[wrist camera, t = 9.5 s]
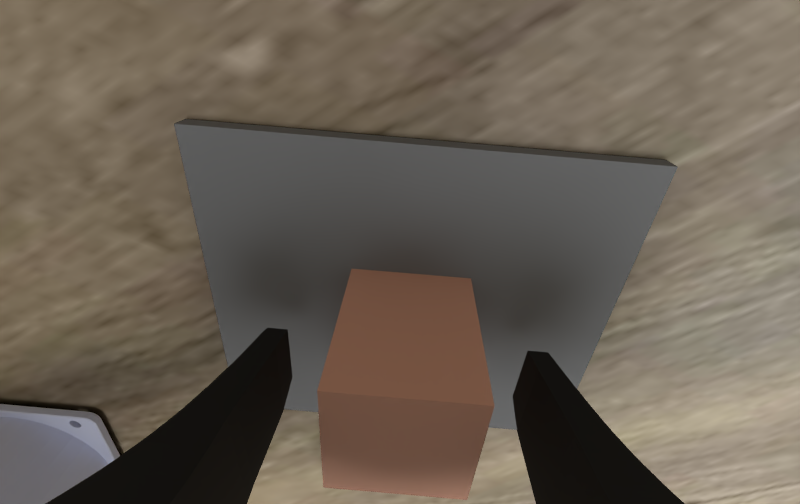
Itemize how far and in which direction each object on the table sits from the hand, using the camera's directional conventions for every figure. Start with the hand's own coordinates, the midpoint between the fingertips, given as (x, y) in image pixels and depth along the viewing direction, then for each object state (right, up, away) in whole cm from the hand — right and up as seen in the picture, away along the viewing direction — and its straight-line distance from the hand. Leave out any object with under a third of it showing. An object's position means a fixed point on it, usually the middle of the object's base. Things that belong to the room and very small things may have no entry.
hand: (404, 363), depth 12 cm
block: (0, +1, +2) cm, 2 cm away
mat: (0, +2, +3) cm, 3 cm away
